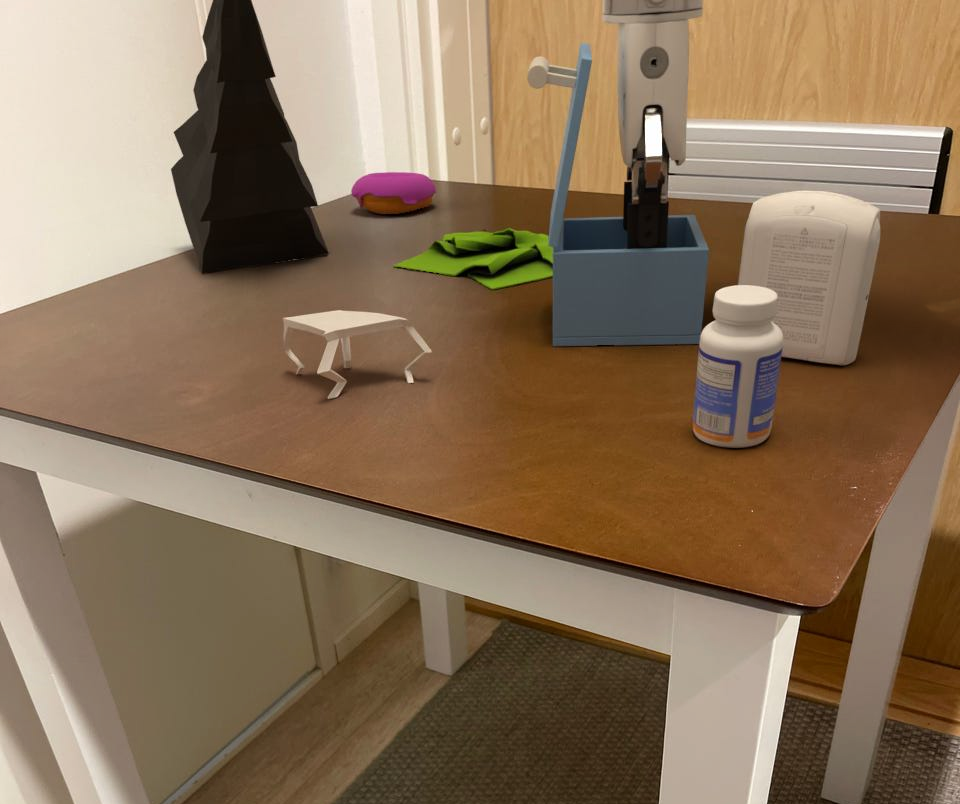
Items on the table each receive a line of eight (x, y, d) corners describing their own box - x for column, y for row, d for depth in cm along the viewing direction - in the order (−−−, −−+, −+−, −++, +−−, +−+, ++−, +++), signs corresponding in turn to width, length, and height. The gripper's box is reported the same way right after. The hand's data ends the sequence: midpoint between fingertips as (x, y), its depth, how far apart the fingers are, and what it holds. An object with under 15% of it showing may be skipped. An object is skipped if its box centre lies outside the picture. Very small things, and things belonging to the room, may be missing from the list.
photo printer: (862, 353, 79) (893, 190, 72) (850, 371, 76) (882, 203, 69) (739, 337, 84) (757, 182, 76) (723, 353, 81) (740, 193, 73)
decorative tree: (203, 298, 111) (163, 10, 78) (173, 197, 115) (123, -116, 82) (328, 279, 115) (339, -3, 82) (295, 182, 119) (293, -123, 86)
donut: (449, 206, 128) (447, 168, 126) (395, 222, 122) (392, 183, 119) (394, 197, 134) (391, 161, 131) (340, 213, 128) (335, 175, 125)
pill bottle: (758, 415, 70) (777, 278, 65) (779, 448, 66) (801, 304, 60) (684, 420, 70) (695, 283, 65) (700, 452, 66) (714, 308, 60)
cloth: (629, 267, 102) (630, 243, 100) (433, 300, 96) (431, 274, 94) (547, 226, 117) (547, 204, 116) (374, 251, 111) (372, 229, 110)
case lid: (590, 43, 80) (535, 34, 80) (592, 59, 71) (530, 48, 71) (559, 213, 88) (509, 205, 88) (557, 248, 79) (502, 238, 79)
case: (687, 301, 92) (694, 214, 87) (700, 344, 83) (709, 249, 78) (554, 304, 93) (554, 218, 88) (552, 346, 84) (552, 253, 79)
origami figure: (284, 407, 76) (273, 345, 73) (287, 368, 82) (277, 310, 79) (436, 393, 77) (432, 331, 74) (427, 356, 83) (423, 298, 80)
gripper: (716, 0, 66) (698, 268, 76) (692, -13, 80) (679, 215, 90) (605, 7, 67) (602, 272, 77) (600, -7, 81) (597, 219, 91)
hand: (643, 240), depth 83 cm, fingers open, 7 cm apart
